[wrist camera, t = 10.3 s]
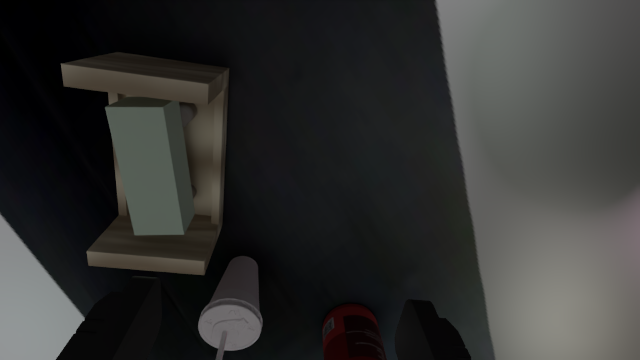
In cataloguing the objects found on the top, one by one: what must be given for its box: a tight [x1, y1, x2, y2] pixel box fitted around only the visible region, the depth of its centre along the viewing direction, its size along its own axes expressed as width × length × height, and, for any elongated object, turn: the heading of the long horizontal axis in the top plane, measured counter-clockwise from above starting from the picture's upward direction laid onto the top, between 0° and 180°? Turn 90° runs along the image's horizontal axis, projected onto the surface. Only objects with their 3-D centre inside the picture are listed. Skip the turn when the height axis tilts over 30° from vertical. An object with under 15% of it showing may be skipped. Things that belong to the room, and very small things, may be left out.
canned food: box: [322, 304, 387, 360], centre depth 45 cm, size 8×8×11 cm
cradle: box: [61, 52, 229, 275], centre depth 34 cm, size 18×10×9 cm, turn 171°
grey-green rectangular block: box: [105, 97, 195, 235], centre depth 33 cm, size 12×4×4 cm, turn 179°
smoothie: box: [198, 256, 262, 360], centre depth 39 cm, size 6×6×14 cm
